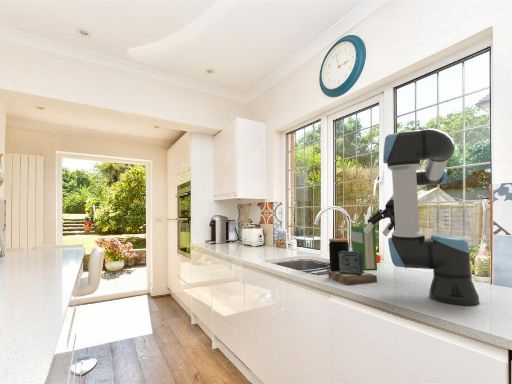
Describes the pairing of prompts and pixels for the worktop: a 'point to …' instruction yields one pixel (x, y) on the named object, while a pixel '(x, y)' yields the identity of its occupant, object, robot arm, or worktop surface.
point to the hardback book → (365, 246)
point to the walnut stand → (353, 278)
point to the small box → (351, 262)
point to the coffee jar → (336, 251)
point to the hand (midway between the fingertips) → (374, 233)
